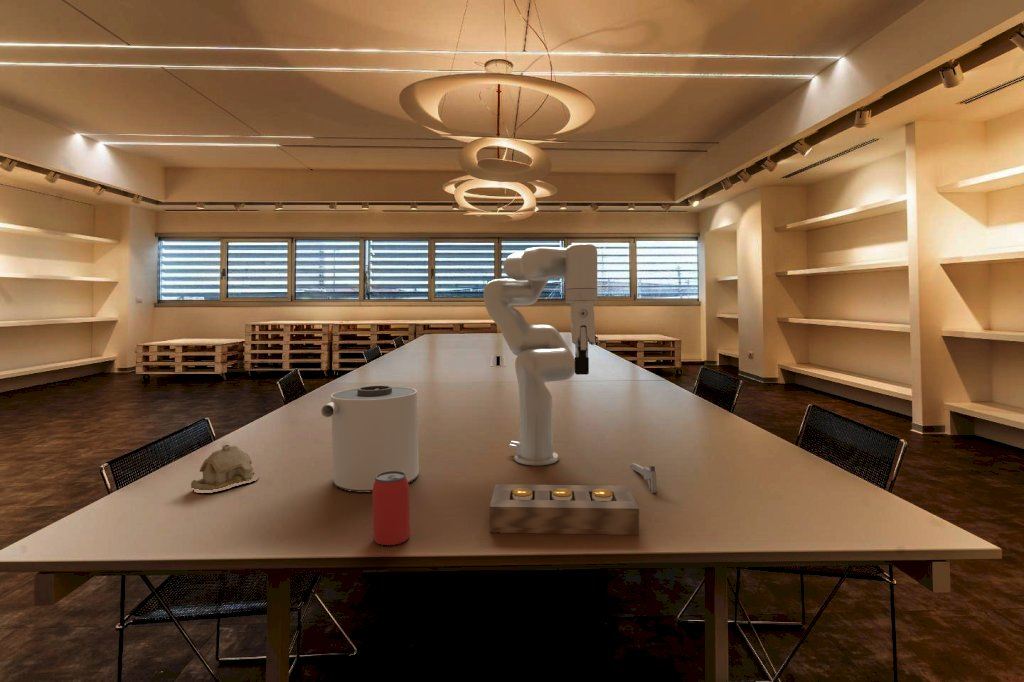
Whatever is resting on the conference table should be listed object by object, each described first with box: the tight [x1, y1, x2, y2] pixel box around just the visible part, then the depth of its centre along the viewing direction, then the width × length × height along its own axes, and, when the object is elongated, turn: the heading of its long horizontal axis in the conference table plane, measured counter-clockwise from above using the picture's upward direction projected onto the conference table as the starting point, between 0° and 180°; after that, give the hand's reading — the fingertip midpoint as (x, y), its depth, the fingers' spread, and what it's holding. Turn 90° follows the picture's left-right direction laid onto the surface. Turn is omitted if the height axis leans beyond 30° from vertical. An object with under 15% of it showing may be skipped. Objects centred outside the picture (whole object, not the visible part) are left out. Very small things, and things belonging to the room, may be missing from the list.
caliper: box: [629, 462, 658, 494], centre depth 119 cm, size 20×1×6 cm, turn 0°
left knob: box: [513, 488, 532, 500], centre depth 96 cm, size 4×4×5 cm
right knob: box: [592, 489, 612, 501], centre depth 95 cm, size 4×4×5 cm
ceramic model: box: [190, 444, 256, 490], centre depth 118 cm, size 14×11×10 cm
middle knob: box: [552, 488, 572, 501], centre depth 95 cm, size 4×4×5 cm
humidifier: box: [320, 385, 420, 491], centre depth 120 cm, size 22×21×23 cm
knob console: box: [489, 483, 640, 536], centre depth 95 cm, size 28×12×5 cm, turn 86°
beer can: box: [371, 471, 411, 547], centre depth 88 cm, size 7×7×12 cm
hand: (581, 373), depth 113 cm, fingers closed
